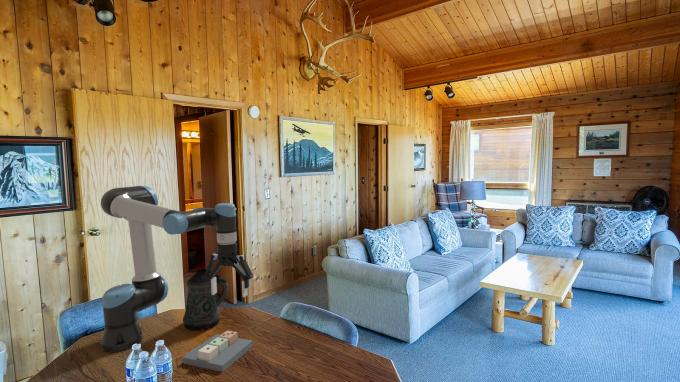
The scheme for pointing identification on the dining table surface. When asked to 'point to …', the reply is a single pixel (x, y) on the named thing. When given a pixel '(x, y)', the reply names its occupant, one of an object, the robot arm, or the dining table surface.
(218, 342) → the pale green block
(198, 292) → the beer stein
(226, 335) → the pink square block
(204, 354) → the cream square block
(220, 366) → the button board
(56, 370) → the dining table surface
